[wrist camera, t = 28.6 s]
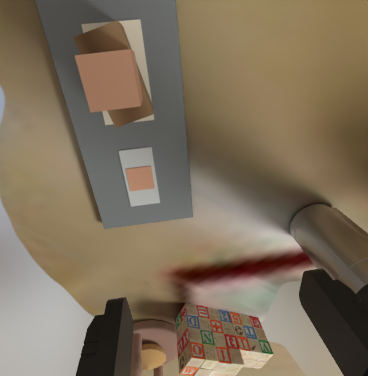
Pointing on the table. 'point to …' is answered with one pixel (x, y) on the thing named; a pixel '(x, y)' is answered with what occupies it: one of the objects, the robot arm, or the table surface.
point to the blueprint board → (135, 131)
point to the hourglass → (152, 346)
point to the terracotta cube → (110, 80)
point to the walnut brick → (113, 41)
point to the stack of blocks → (219, 342)
